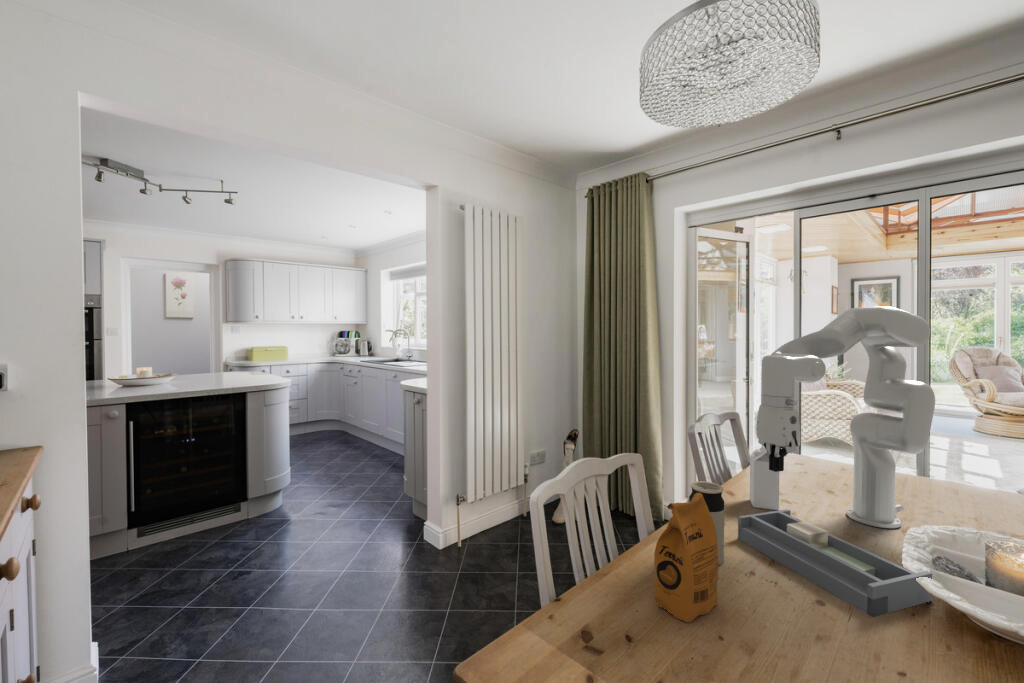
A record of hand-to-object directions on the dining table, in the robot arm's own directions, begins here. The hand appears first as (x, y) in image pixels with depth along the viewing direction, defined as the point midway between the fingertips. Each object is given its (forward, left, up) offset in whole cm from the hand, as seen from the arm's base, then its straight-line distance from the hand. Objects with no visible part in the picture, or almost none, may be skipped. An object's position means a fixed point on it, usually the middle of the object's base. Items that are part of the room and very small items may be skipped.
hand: (776, 470), depth 117 cm
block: (0, +9, -16) cm, 18 cm away
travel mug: (+24, +2, -19) cm, 31 cm away
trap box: (0, +13, -19) cm, 23 cm away
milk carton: (-17, -20, -19) cm, 33 cm away
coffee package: (+41, +16, -19) cm, 48 cm away
